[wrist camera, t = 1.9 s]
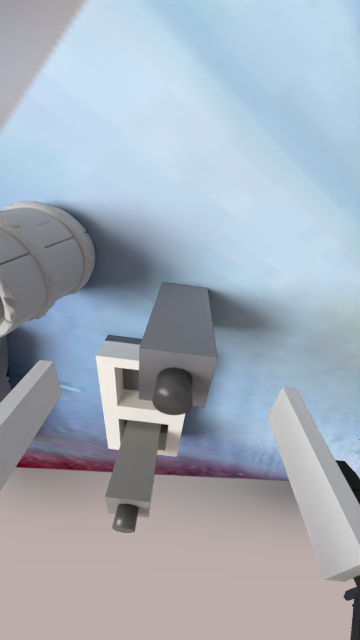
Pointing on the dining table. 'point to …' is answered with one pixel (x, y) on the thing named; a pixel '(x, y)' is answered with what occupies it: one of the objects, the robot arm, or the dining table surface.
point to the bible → (4, 368)
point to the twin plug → (133, 475)
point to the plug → (178, 350)
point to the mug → (39, 260)
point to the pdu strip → (130, 395)
